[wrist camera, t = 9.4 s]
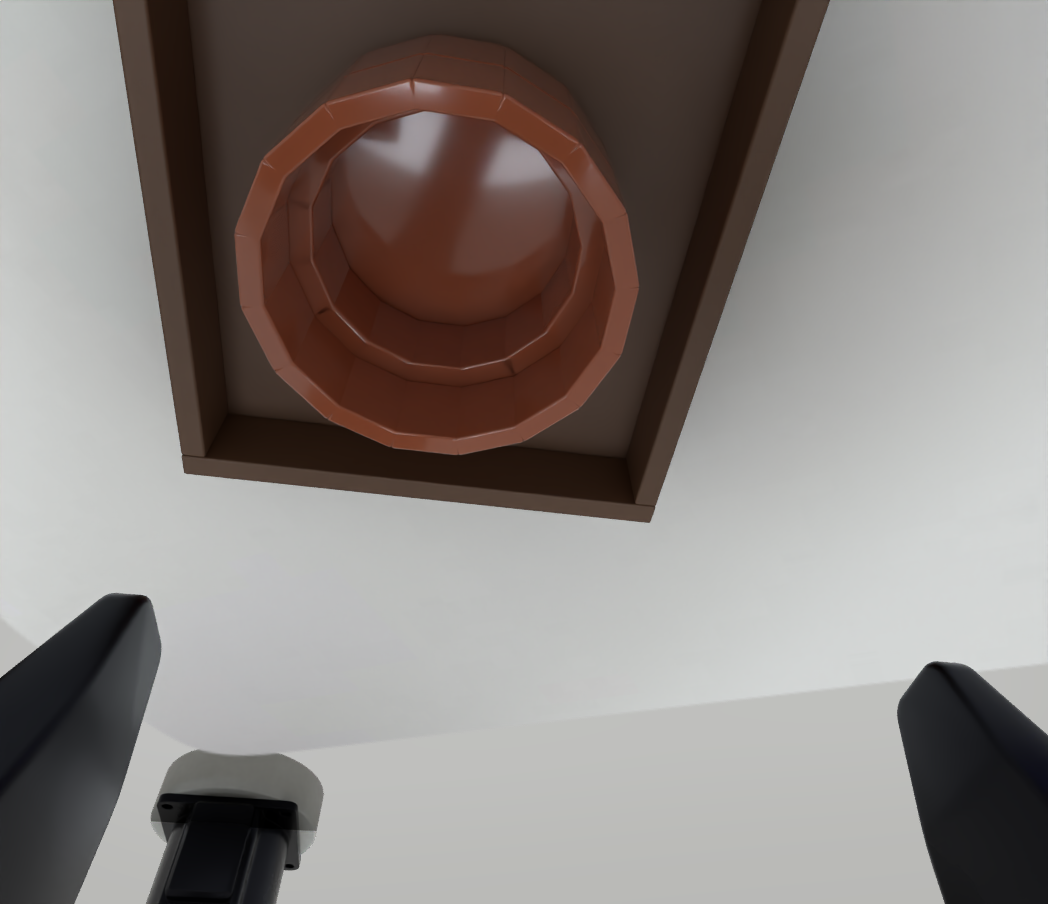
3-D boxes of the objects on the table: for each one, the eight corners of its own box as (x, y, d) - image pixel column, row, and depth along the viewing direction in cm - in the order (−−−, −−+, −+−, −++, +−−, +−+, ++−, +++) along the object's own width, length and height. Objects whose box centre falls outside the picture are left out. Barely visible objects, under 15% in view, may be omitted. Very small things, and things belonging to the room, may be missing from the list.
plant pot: (577, 361, 20) (591, 471, 16) (299, 327, 19) (250, 433, 15) (644, 63, 15) (684, 121, 12) (289, 3, 15) (217, 47, 11)
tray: (638, 468, 22) (650, 523, 20) (213, 419, 21) (183, 474, 19) (826, -132, 14) (877, -132, 12) (132, -273, 13) (65, -298, 11)
